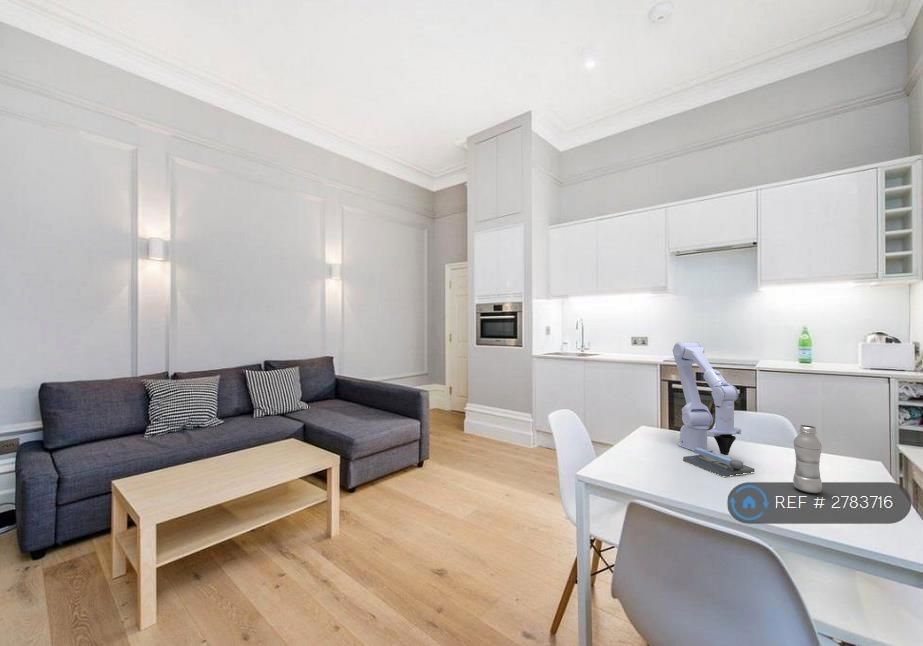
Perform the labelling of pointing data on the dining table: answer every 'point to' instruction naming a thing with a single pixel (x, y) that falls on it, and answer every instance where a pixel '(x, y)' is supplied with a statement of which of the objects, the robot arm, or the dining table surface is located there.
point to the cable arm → (719, 458)
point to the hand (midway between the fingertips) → (724, 454)
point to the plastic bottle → (807, 460)
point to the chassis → (716, 466)
